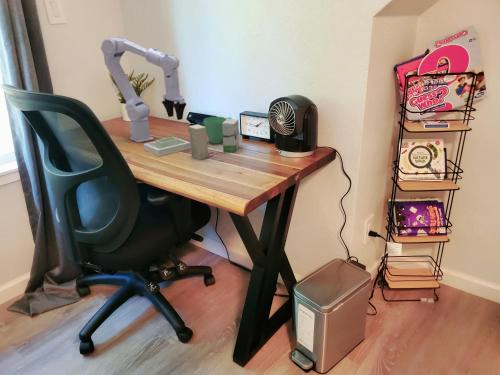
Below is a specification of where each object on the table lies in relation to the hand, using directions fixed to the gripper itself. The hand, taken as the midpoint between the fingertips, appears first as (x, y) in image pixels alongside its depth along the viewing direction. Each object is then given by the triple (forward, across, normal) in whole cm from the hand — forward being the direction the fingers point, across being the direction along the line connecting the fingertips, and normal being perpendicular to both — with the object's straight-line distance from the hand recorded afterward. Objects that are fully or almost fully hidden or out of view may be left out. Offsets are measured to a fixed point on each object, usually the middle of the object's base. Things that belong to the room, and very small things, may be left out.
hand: (175, 118), depth 169 cm
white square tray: (+10, -7, +9) cm, 15 cm away
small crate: (+10, -7, +9) cm, 15 cm away
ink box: (+11, -26, -10) cm, 30 cm away
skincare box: (+11, -25, +5) cm, 28 cm away
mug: (+11, -13, -14) cm, 22 cm away
